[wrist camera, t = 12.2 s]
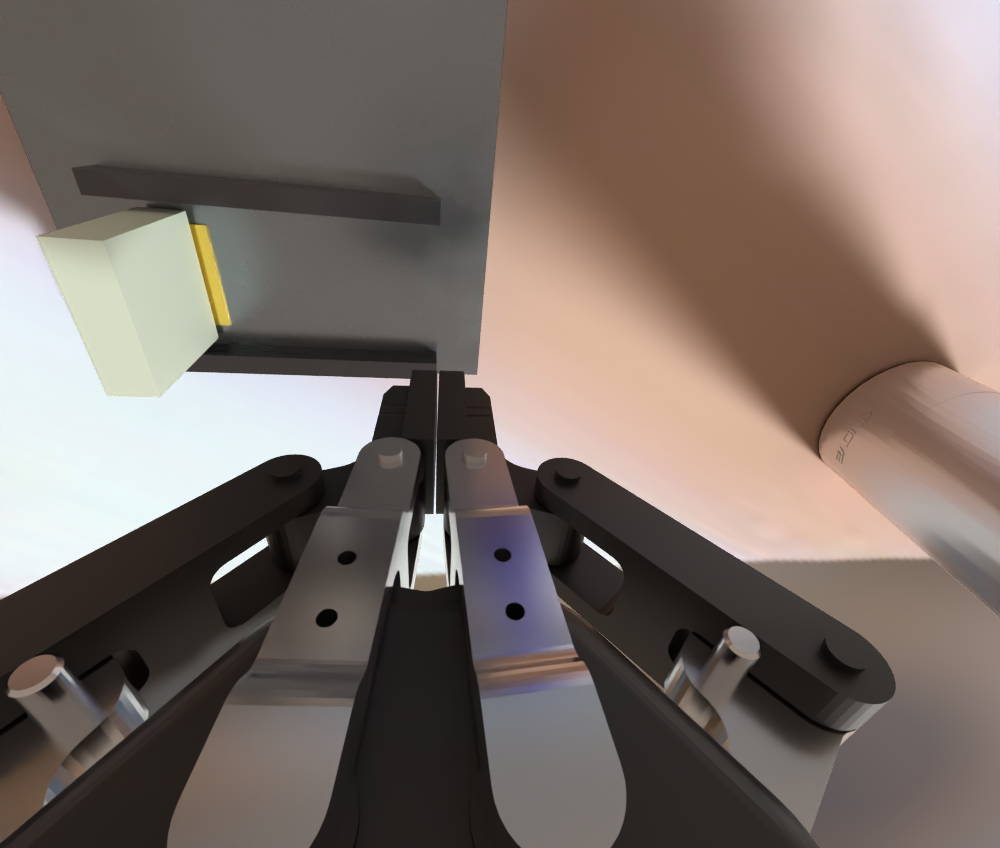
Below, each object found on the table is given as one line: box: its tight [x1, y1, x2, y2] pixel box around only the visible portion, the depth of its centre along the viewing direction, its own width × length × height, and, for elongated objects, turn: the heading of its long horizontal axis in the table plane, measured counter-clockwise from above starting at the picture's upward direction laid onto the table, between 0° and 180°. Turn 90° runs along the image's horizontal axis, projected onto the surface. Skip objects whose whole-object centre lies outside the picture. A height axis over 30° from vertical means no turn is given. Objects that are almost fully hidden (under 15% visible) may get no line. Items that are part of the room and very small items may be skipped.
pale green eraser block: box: [36, 207, 219, 397], centre depth 16 cm, size 2×5×5 cm, turn 174°
